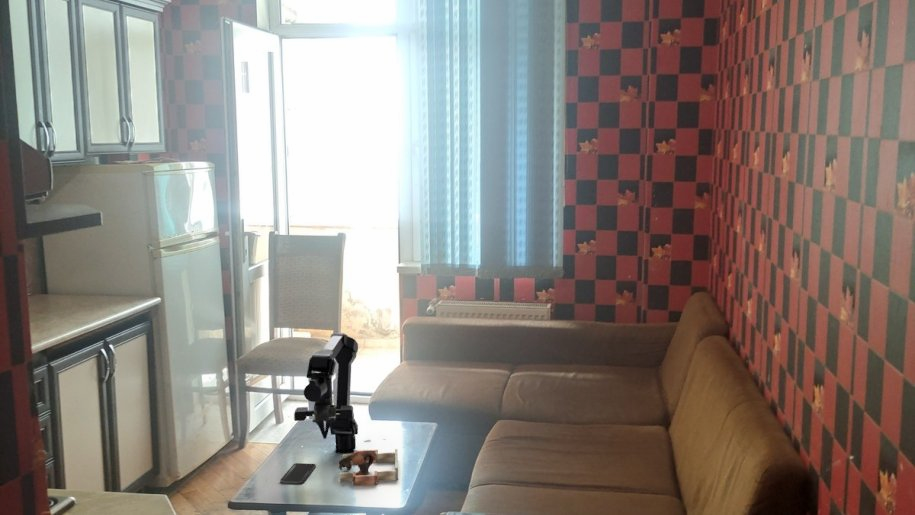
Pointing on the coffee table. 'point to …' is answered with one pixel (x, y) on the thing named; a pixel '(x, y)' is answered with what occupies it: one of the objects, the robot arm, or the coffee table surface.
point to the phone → (298, 473)
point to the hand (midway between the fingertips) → (325, 438)
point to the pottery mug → (357, 462)
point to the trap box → (377, 474)
